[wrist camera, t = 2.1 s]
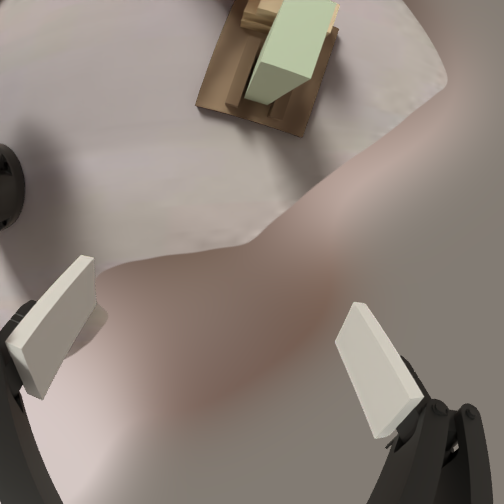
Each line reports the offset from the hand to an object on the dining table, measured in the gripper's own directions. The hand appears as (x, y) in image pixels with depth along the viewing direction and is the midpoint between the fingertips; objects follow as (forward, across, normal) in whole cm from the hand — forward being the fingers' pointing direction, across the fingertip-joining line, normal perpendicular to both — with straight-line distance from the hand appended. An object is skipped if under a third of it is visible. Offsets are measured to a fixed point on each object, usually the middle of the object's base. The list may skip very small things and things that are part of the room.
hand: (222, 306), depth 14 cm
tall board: (+25, +1, +15) cm, 29 cm away
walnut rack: (+27, +1, +18) cm, 32 cm away
